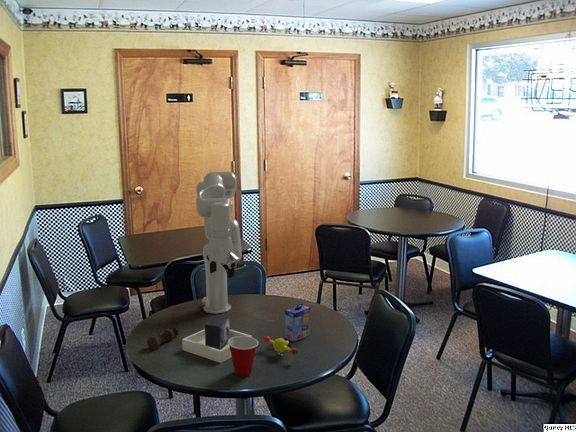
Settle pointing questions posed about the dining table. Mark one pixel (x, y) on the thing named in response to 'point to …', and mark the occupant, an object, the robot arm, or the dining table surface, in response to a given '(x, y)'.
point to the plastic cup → (242, 354)
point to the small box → (217, 332)
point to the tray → (198, 346)
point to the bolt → (161, 338)
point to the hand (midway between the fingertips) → (222, 274)
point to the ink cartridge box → (297, 322)
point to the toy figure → (280, 345)
